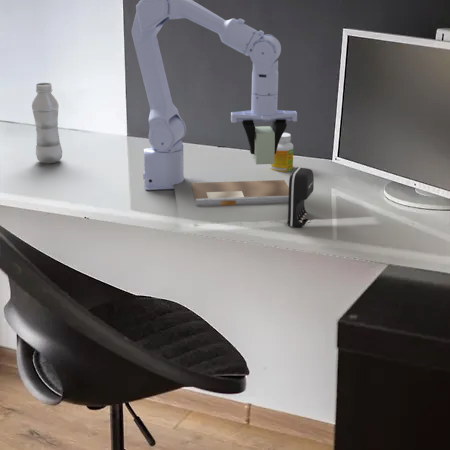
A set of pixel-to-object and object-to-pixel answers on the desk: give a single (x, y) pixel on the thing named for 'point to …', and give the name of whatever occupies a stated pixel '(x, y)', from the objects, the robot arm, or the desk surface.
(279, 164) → the supplement bottle
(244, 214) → the desk surface
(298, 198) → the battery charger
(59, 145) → the plastic bottle
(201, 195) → the shelf board
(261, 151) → the carton
